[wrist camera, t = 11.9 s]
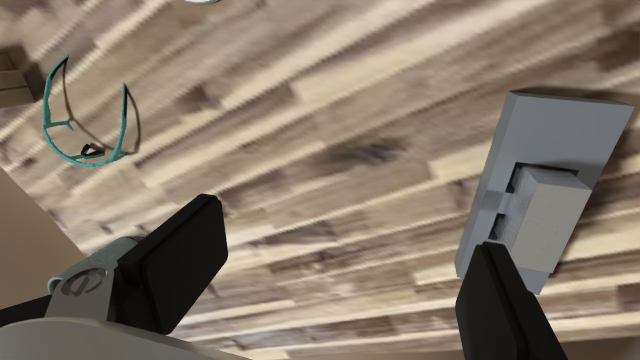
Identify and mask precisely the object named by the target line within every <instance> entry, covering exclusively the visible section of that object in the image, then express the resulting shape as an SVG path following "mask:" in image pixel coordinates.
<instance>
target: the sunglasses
mask: <svg viewBox="0 0 640 360" xmlns="http://www.w3.org/2000/svg"><path fill="white" fill-rule="evenodd" d="M68 57H69V54H67V55H66V56H65V57H64V58H63V59H62V60H61V61H60V62H59V63H57V64H56V65H55V67H54V68H53V69H52V71H51V72H50V74H49V76H48V78H47V81H46V86H45V92H44V99H43V128H42V131H43V133H44V135H45V137H46V138H47V143H48V144H49V145H50V147H51V148H52V149H53V150H54V151H55V152H56V153H57V154H58V155H59V156H61V157H62V158H63V159H65V160H66V161H69V162H71V163H73V164H76V165H79V166H84V167H96V166H101V165H104V164H107V163H110V162H113V161H116V160H119V159H121V158H122V157H124V156H125V155H126V152H125V153H122V154H119V153H120V152H121V145H122V140H123V137H124V133H125V129H126V117H127V89H126V86H125V83H123V109H122V127H121V132H120V137H119V140H118V142H117V145H116V147H115V149H114V151H113V153H112V154H111V156H110V158H109V159H108V160H106V161H103V162H100V163H94V164H87V163H82V162H78V161H76V159H80V158H81V159H82V158H84V159H91V158H96V157H100V156H104V154H105V153H102V152H101V151H100V150H99V151H94V152H91V153H89V154H86V152H87V151H88V150H89V148H90V146H89V145H88V144H86V145H85V146H84V147H83V149H82V151H81V154H80V155H77V156H71V157H69V156H66V155H65V154H63V153H62V152H61V151H60V150H59V149H58V148H57V147H56V146H55V145H54V143H53V142H51V139H50V137H49V135H48V133H47V131H46V128H49V127H53V126H58V125H67V126H68V127H69V128H70V129H71V130H73V129H72V127H71V126H70V124H69V123H68V122H67V121H62V122H55V123H51V120H50V118H51V113H50V109H49V105H48V97H49V93H50V89H51V87H52V80H53V78H54V76H55V74H56V72H57V70H58V69H59V68H60V67H61V66H62V65H63V64H64V63H65V62H66V61H67V59H68ZM73 131H74V130H73ZM74 132H75V131H74ZM118 155H120V156H118Z"/></svg>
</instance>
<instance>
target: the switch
mask: <svg viewBox="0 0 640 360" xmlns="http://www.w3.org/2000/svg"><path fill="white" fill-rule="evenodd" d="M634 108H635V106H632V105H629V104H625V103H621V102H618V101H614V100H602V99H591V98H579V97H568V96H556V95H545V94H533V93H521V92H510V91H509V92H508V95H507V98H506V101H505V104H504V107H503V110H502V113H501V117H500V120H499V123H498V126H497V129H496V132H495V135H494V139H493V142H492V145H491V148H490V151H489V154H488V157H487V160H486V164H485V167H484V170H483V173H482V176H481V179H480V182H479V185H478V189H477V192H476V195H475V198H474V201H473V204H472V207H471V211H470V214H469V217H468V220H467V223H466V226H465V229H464V232H463V236H462V239H461V242H460V245H459V248H458V251H457V254H456V257H455V261H454V263H455V268H456V273H457V277H460V278H464V277H465V274H466V272H467V269H468V266H469V263H470V260H471V257H472V255H473V252H474V249H475V246H476V245H477V244H480V245H482V243H483V242H484V241H488V242H494V243H497V242H496V240H497V235H496V233H495V231H494V228H493V227H492V226H493V223H494V220H495V217H496V215H497V213H501V214H506V212H507V209H508V207H509V204H510V201H511V198H512V195H513V193H514V190H515V189H514V187H513V186H512V185H511V183H508V182H509V179H510V177H511V174H512V171H513V168H514V166H515V163H516V162H523V163H530V164H537V165H545V166H552V167H560V168H561V171H564V172H570V173H571V174H573V175H574V176H575V177H576V178H578V179H579V180H580V181H581V182H583V183H584V184H585V185H586V186H588V187H589V188H590V189H591V190H593V188H594V186H595V184H596V182H597V180H598V178H599V177H600V175H601V173H602V171H603V169H604V167H605V165H606V163H607V161H608V159H609V157H610V155H611V153H612V151H613V149H614V147H615V145H616V143H617V141H618V139H619V137H620V135H621V133H622V131H623V130H624V128H625V126H626V124H627V122H628V120H629V118H630V116H631V114H632V112H633V110H634ZM516 268H517V270H518V272H519V274H520V276H521V278H522V280H523V282H524V284H525V286H526V288H527V290H529V291H531V292H532V293H533V294H536V295H539V294H540V292H541V290H542V288H543V286H544V284H545V282H546V280H547V278H548V276H549V274H550V273H548V272H543V271H538V270H533V269H527V268H522V267H517V266H516Z"/></svg>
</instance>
